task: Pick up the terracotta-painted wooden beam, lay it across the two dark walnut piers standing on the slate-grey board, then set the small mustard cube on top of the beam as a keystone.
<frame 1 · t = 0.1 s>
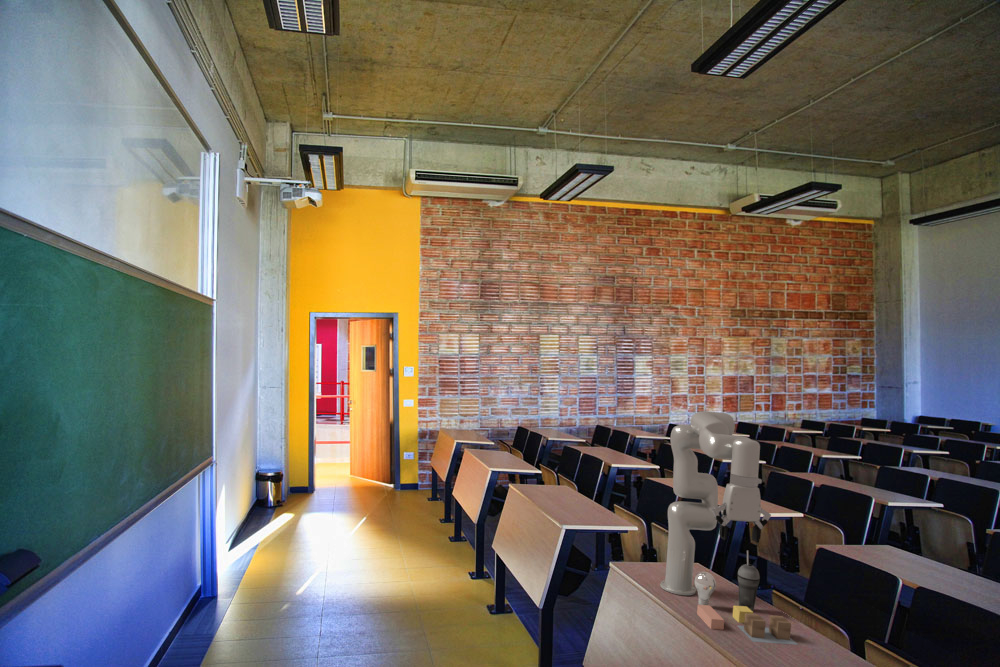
hand: (739, 540, 178), 31 cm above the table, tool pointing down, fingers open, 9 cm apart
pier 1: (753, 633, 186), point 1 cm above the table, touching board
beam: (709, 624, 193), on the table
pier 2: (779, 635, 187), point 1 cm above the table, touching board
light bulb: (702, 608, 206), on the table
board: (766, 637, 186), on the table
beverage cup: (746, 611, 206), on the table
cube: (742, 622, 196), on the table
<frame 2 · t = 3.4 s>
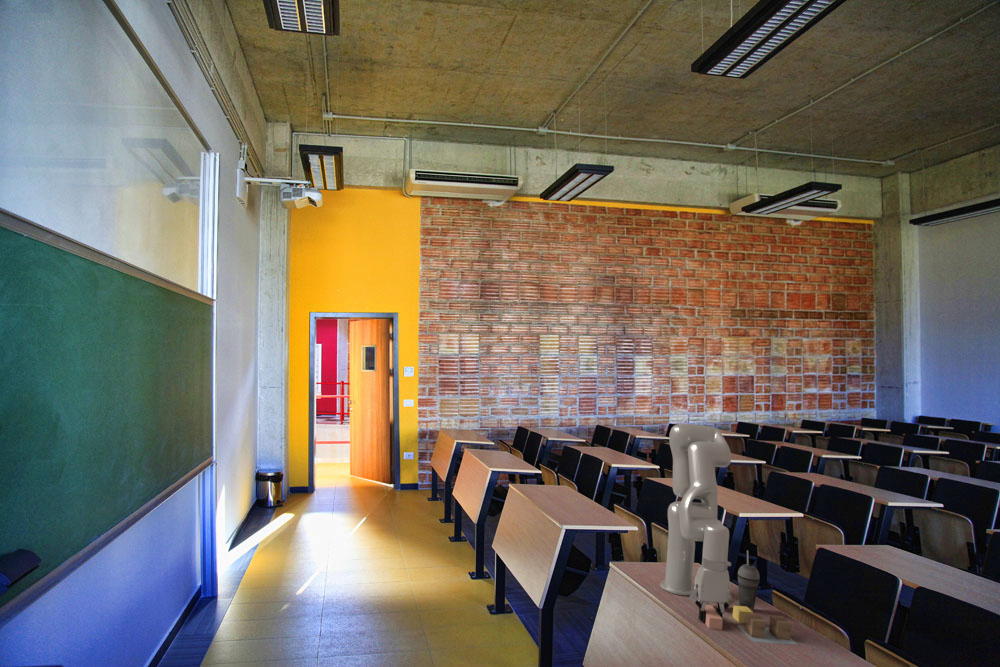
hand: (710, 622, 192), 1 cm above the table, tool pointing down, fingers closed on beam, 4 cm apart
beam: (709, 624, 193), on the table, touching gripper
everything else where it was.
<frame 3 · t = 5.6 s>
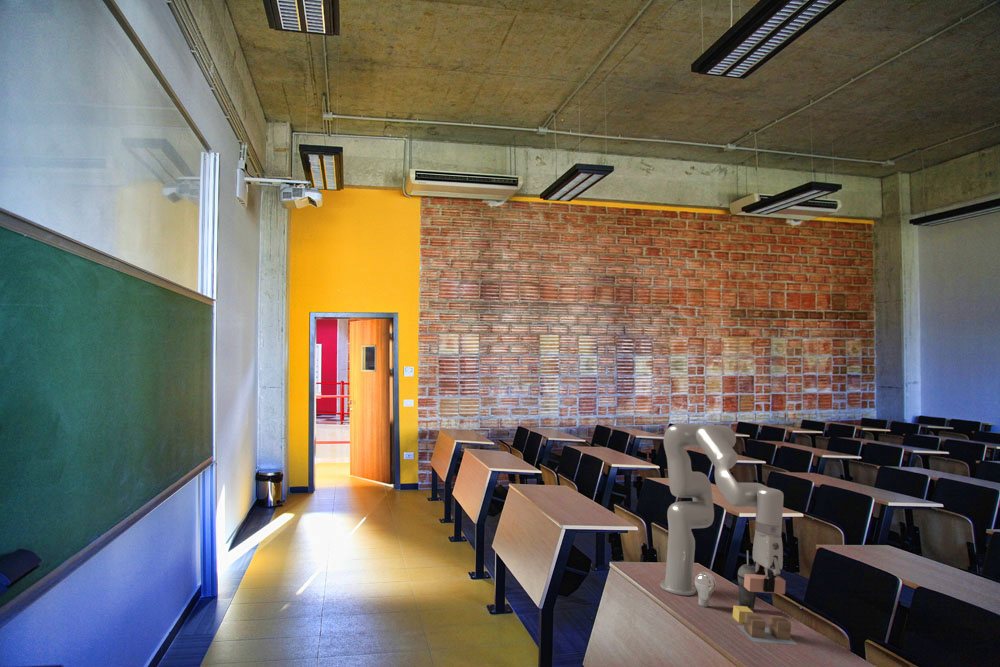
hand: (764, 588, 187), 15 cm above the table, tool pointing down, fingers closed on beam, 4 cm apart
beam: (764, 590, 187), point 14 cm above the table, touching gripper
everything else where it was.
when the fingers open (7 cm above the table, at t = 7.7 s): beam stays where it is, resting on pier 2, pier 1.
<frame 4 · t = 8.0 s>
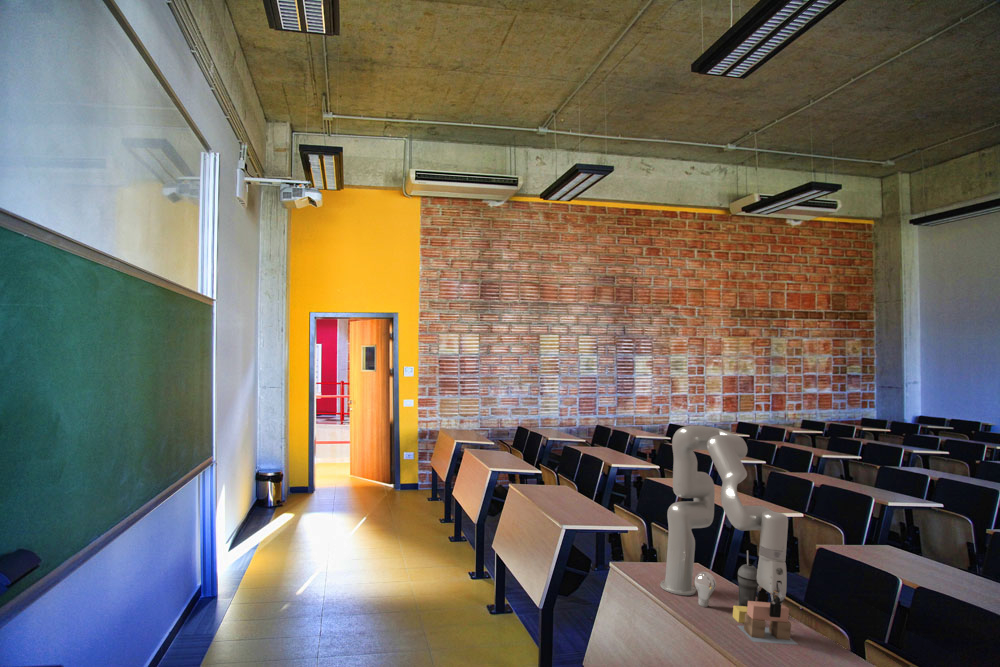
hand: (768, 610, 187), 8 cm above the table, tool pointing down, fingers open, 7 cm apart
pier 1: (753, 633, 186), point 1 cm above the table, touching beam, board
beam: (767, 617, 187), point 6 cm above the table, touching pier 2, pier 1
pier 2: (779, 635, 187), point 1 cm above the table, touching beam, board
everything else where it was.
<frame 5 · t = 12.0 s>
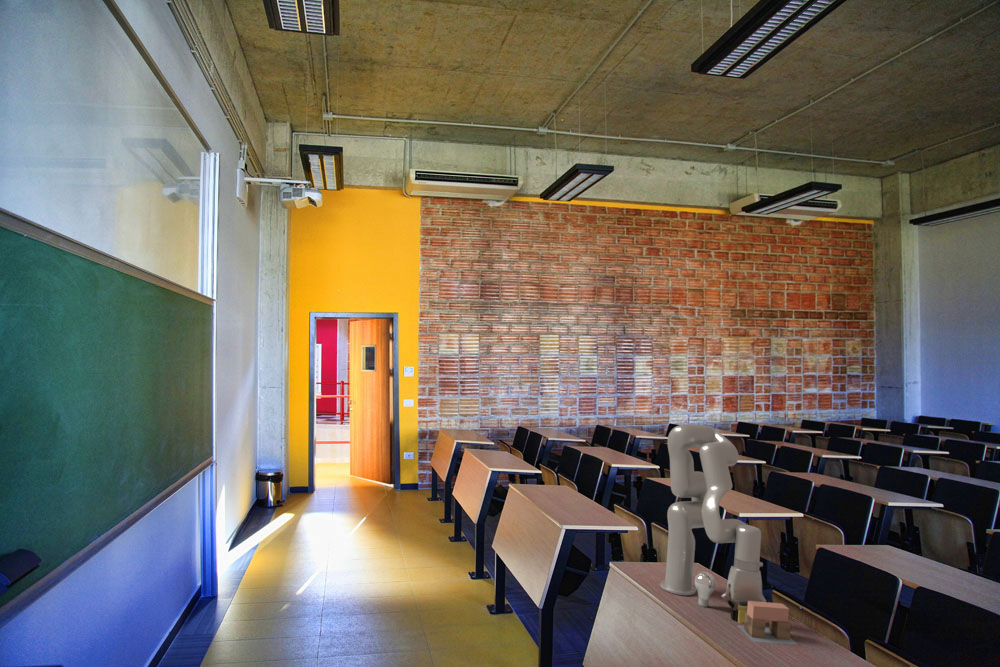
hand: (742, 621, 196), 0 cm above the table, tool pointing down, fingers closed on cube, 4 cm apart
cube: (742, 622, 196), on the table, touching gripper
everything else where it was.
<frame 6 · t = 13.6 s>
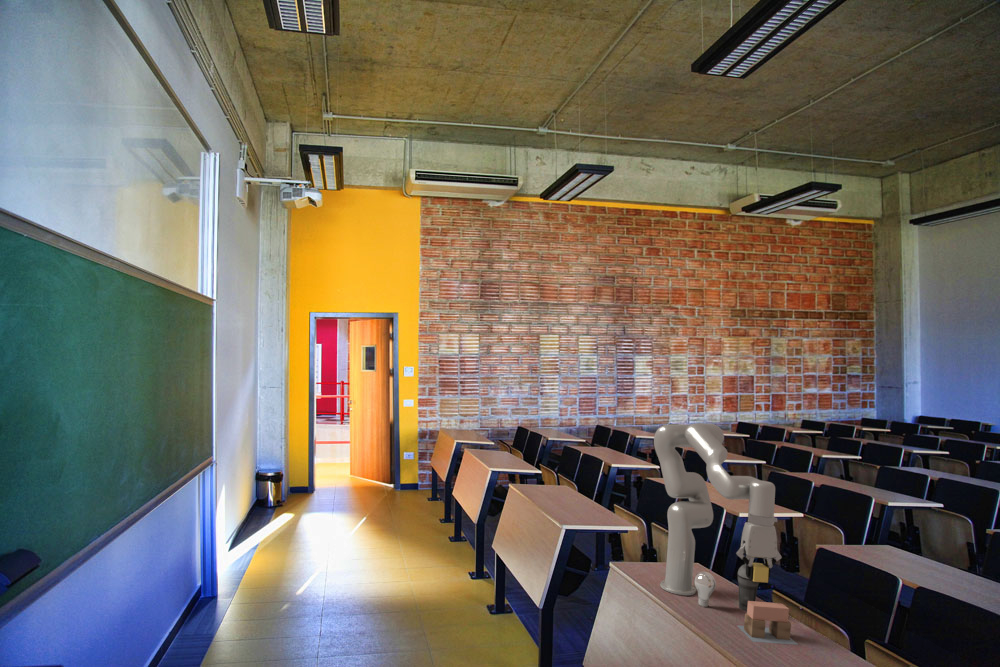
hand: (757, 578, 192), 16 cm above the table, tool pointing down, fingers closed on cube, 4 cm apart
cube: (757, 579, 192), point 16 cm above the table, touching gripper
everything else where it was.
when the fingers open (11 cm above the table, at t = 15.2 s): cube drops 1 cm, resting on beam.
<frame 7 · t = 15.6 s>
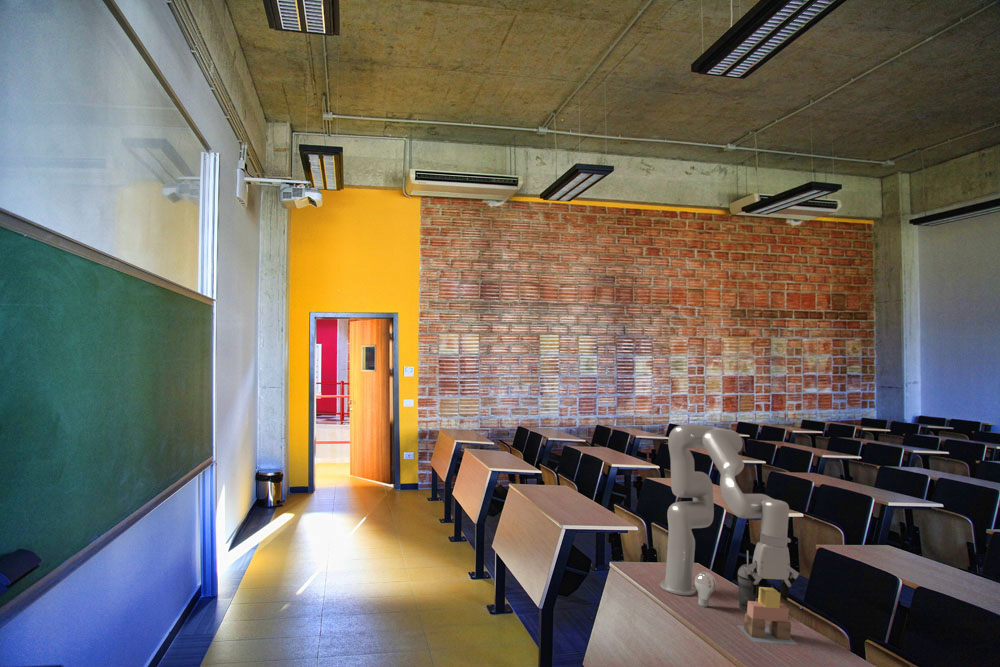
hand: (769, 597, 187), 12 cm above the table, tool pointing down, fingers open, 8 cm apart
beam: (767, 617, 187), point 6 cm above the table, touching cube, pier 2, pier 1
cube: (768, 604, 187), point 10 cm above the table, touching beam
everything else where it was.
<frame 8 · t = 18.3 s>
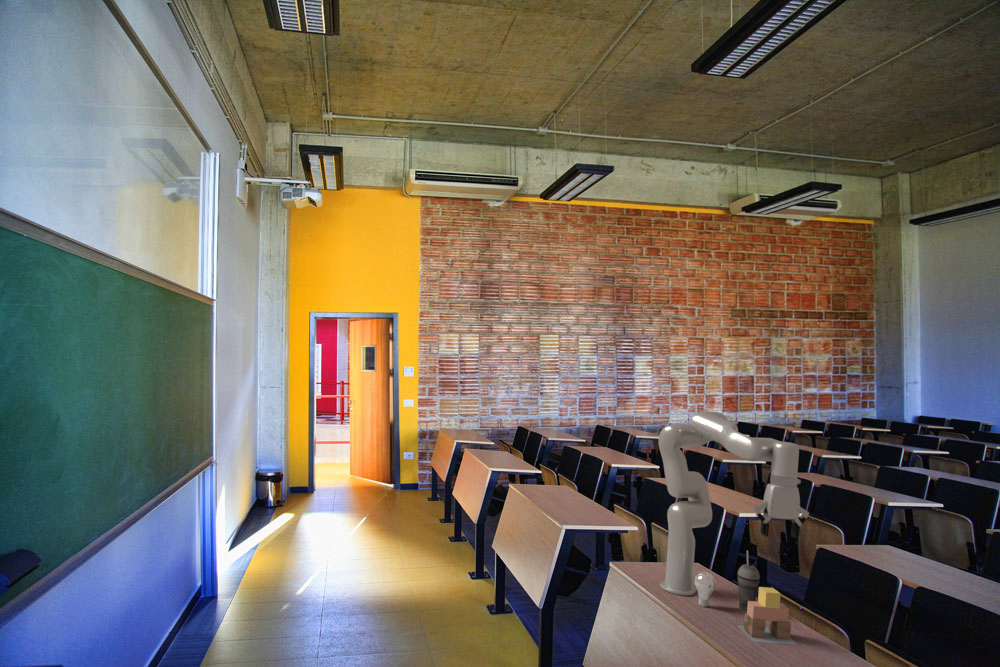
hand: (779, 536, 190), 30 cm above the table, tool pointing down, fingers open, 9 cm apart
nothing on the table moved.
at the end: beam 0.2 cm from the target spot, point 5.8 cm above the table; cube 0.1 cm off-centre on the beam, point 4.0 cm above the beam's base; the gripper is holding nothing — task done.
